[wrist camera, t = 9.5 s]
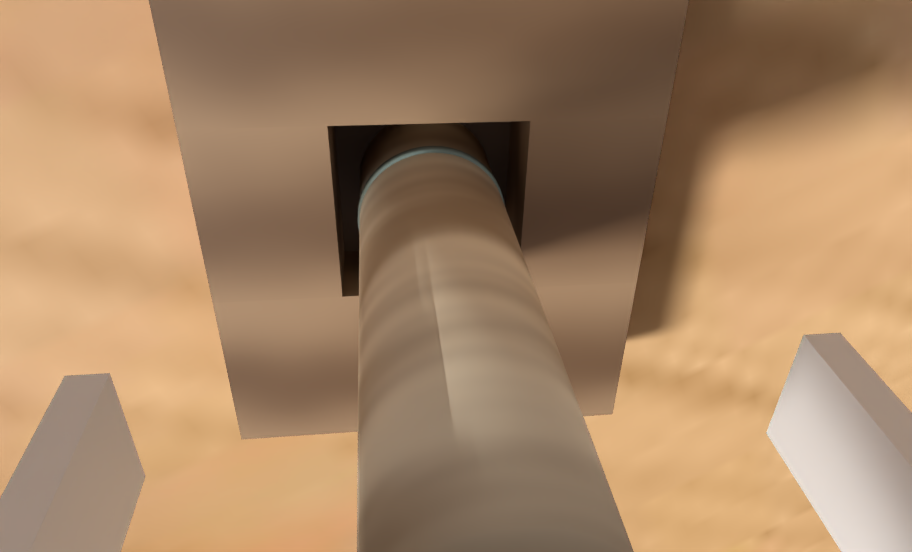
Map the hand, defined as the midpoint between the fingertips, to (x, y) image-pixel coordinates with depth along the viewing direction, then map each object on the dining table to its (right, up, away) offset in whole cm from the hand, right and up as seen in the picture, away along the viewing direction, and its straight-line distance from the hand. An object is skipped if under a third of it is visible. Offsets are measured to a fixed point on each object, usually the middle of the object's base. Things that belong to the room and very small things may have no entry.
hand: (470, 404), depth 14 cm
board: (-1, +7, +11) cm, 13 cm away
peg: (-1, +6, +10) cm, 12 cm away
